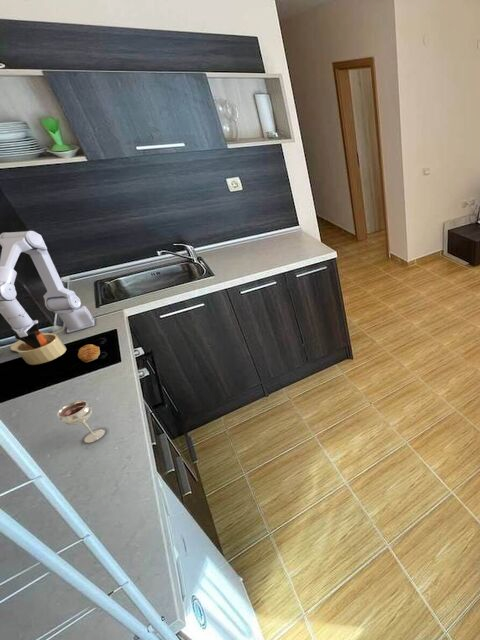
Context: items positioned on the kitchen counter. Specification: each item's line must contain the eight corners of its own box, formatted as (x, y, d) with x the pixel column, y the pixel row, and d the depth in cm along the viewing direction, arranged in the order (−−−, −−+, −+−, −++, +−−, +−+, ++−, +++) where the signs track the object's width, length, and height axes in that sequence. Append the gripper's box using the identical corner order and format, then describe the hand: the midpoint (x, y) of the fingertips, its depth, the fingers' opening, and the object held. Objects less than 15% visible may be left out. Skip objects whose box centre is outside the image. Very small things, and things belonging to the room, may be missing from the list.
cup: (49, 340, 142) (41, 329, 139) (48, 347, 138) (40, 335, 135) (31, 346, 139) (22, 334, 136) (30, 352, 135) (20, 341, 132)
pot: (66, 342, 148) (57, 330, 144) (66, 356, 140) (56, 343, 137) (27, 354, 141) (17, 341, 138) (24, 368, 134) (13, 355, 130)
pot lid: (54, 331, 155) (48, 323, 153) (52, 344, 147) (46, 335, 144) (14, 342, 148) (7, 334, 146) (10, 356, 140) (2, 347, 138)
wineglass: (93, 446, 103) (70, 419, 97) (74, 443, 104) (50, 416, 98) (114, 428, 109) (93, 401, 102) (96, 425, 110) (74, 398, 103)
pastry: (103, 358, 138) (98, 351, 136) (81, 366, 135) (75, 358, 132) (100, 348, 144) (95, 341, 142) (79, 355, 140) (73, 348, 138)
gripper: (28, 318, 128) (50, 348, 135) (31, 304, 137) (52, 332, 144) (0, 325, 124) (25, 355, 131) (6, 310, 133) (29, 338, 140)
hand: (37, 343), depth 137 cm, fingers closed on cup, 5 cm apart
